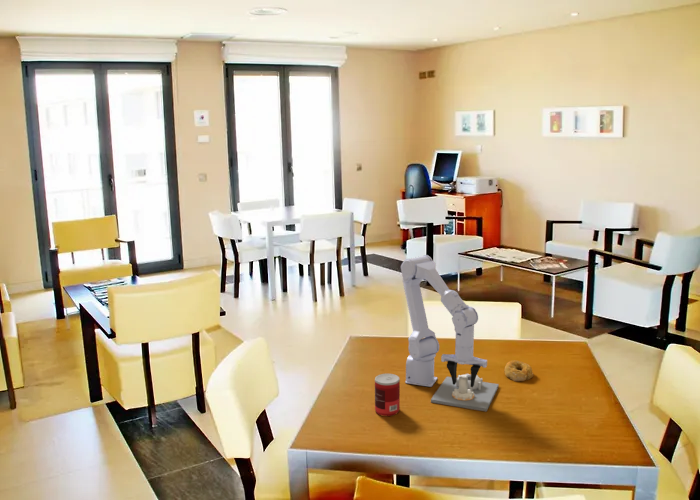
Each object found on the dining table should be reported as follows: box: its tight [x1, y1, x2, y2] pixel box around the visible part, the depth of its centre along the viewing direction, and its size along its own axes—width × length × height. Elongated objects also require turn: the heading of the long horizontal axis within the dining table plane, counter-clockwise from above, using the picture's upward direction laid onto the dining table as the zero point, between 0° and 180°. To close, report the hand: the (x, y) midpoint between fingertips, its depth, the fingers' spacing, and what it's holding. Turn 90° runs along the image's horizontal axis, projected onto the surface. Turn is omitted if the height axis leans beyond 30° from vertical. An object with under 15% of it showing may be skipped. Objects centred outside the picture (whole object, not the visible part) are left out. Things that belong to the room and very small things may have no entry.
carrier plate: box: [430, 373, 500, 412], centre depth 214 cm, size 18×20×4 cm
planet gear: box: [452, 376, 474, 400], centre depth 210 cm, size 6×6×6 cm
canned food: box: [374, 373, 401, 417], centre depth 202 cm, size 8×8×11 cm
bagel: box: [504, 360, 534, 382], centre depth 228 cm, size 10×11×5 cm
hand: (463, 384), depth 210 cm, fingers open, 5 cm apart
